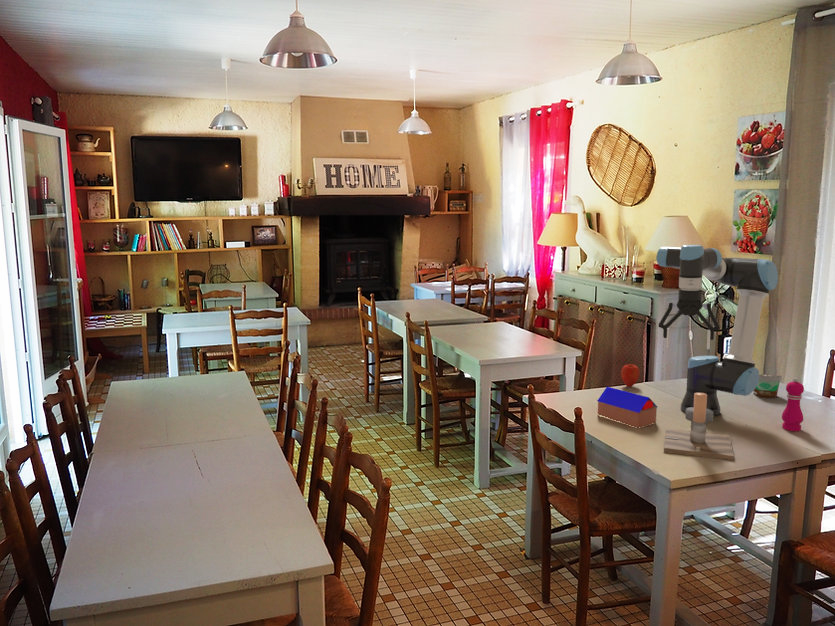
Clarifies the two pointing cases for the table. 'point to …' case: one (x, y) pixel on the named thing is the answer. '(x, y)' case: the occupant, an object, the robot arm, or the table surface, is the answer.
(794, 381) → the pepper mill
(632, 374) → the apple
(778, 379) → the food container
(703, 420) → the crank handle
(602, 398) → the house
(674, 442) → the post base
